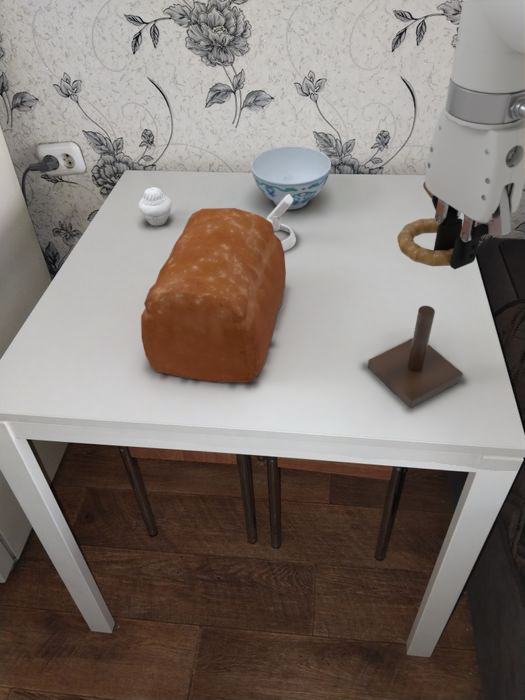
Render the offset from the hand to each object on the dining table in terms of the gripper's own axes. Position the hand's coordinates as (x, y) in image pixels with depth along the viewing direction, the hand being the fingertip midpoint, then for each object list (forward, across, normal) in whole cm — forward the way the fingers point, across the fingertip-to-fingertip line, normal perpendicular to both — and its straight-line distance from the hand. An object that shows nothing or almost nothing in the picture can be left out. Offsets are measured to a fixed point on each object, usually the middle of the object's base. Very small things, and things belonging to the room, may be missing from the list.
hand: (453, 257), depth 69 cm
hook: (+18, +39, +3) cm, 43 cm away
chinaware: (+18, +49, -7) cm, 53 cm away
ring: (0, +3, 0) cm, 3 cm away
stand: (+19, 0, +2) cm, 19 cm away
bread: (+19, +23, +21) cm, 37 cm away
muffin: (+18, +56, +19) cm, 62 cm away
